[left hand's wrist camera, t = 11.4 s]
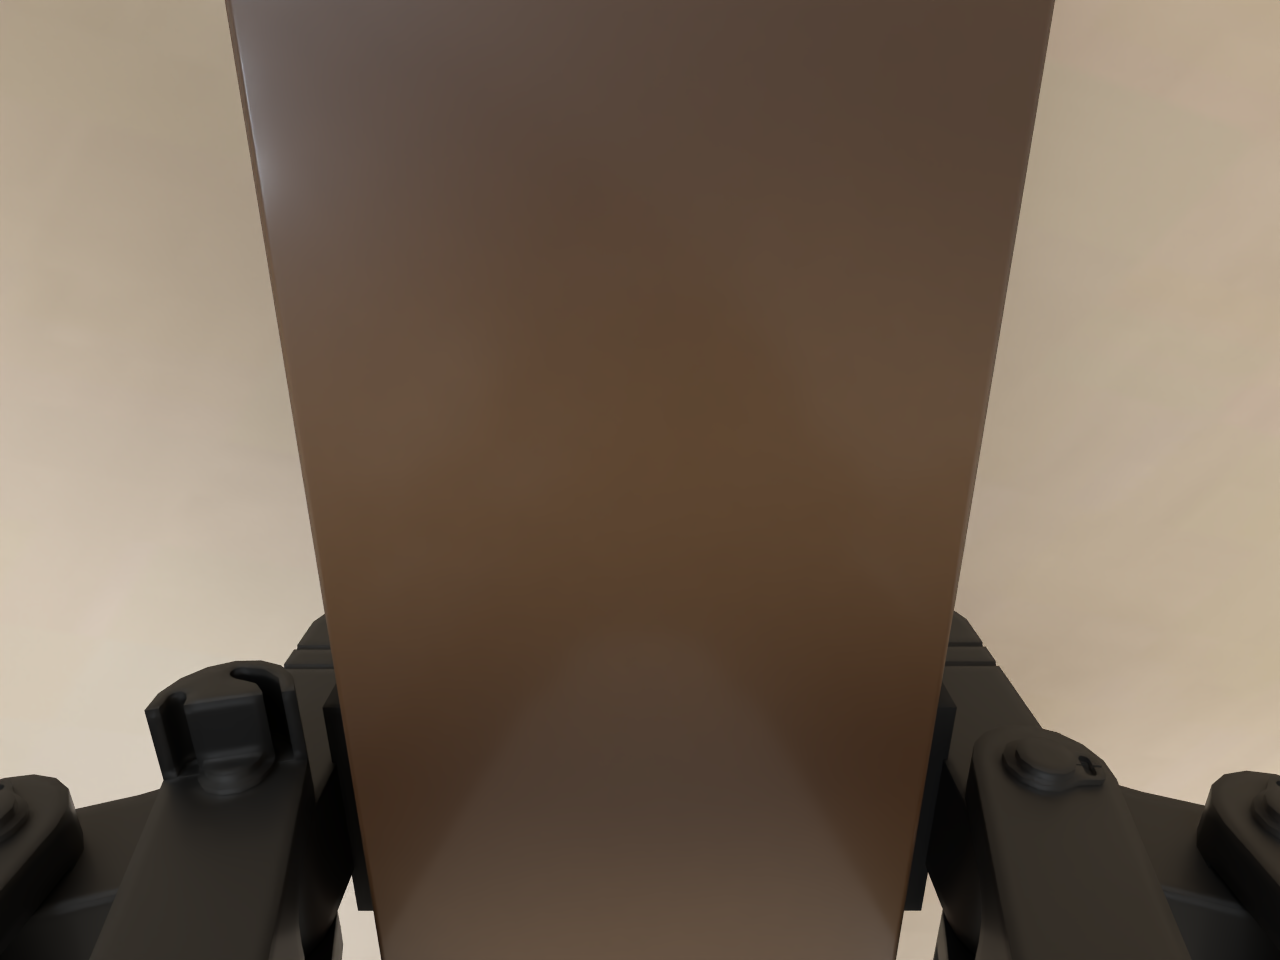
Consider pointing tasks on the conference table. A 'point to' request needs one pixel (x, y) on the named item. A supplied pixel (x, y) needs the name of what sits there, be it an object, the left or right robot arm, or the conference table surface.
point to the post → (639, 442)
